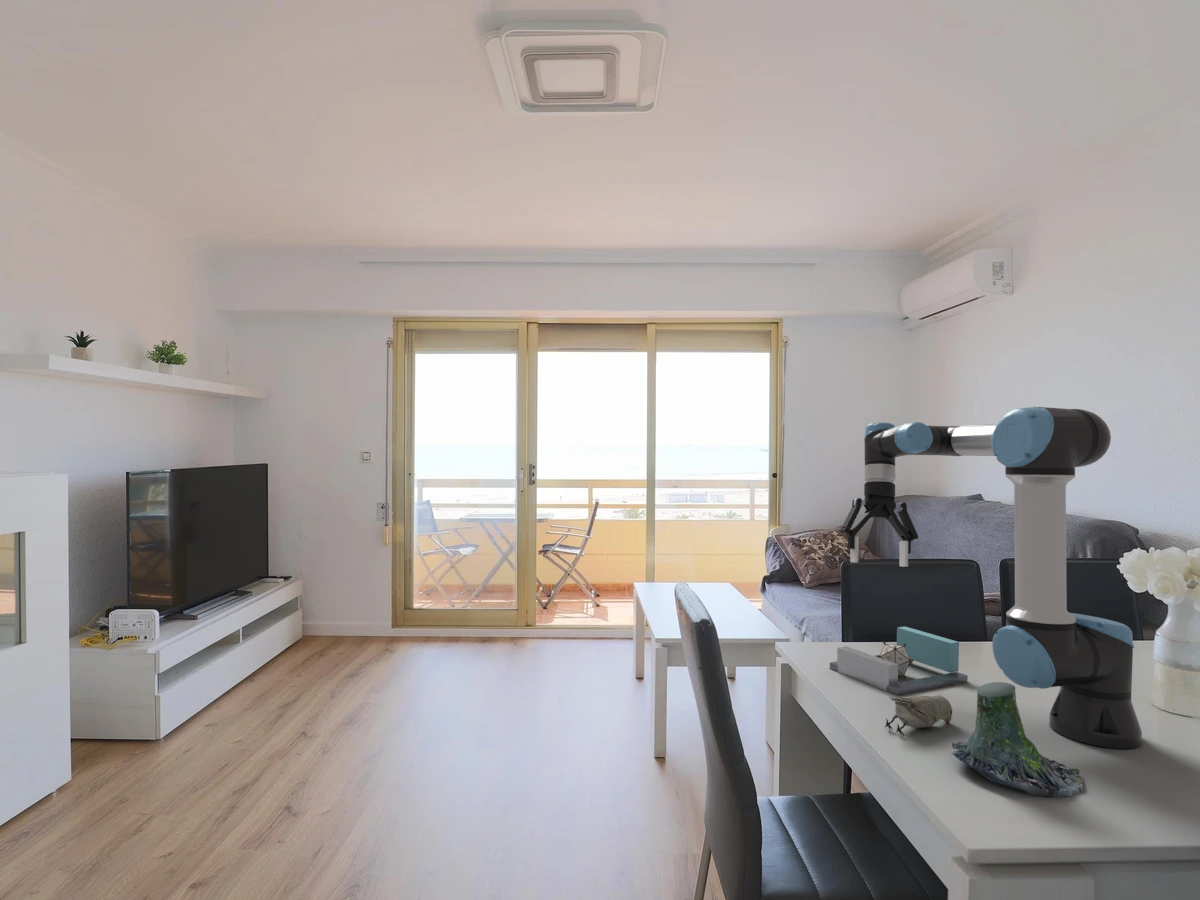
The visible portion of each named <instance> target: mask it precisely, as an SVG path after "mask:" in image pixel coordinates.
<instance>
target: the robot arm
mask: <svg viewBox="0 0 1200 900" xmlns="http://www.w3.org/2000/svg"><path fill="white" fill-rule="evenodd" d="M1111 439H1112V436H1111V431H1110V427H1109V426H1108V424H1107V423H1106V422H1105V421H1104V420H1103V419H1102V417H1101V416H1099V415H1098V414H1095V412H1091V411H1090V410H1085V409H1081V408H1079V409H1078V408H1060V407H1059V408H1057V407H1045V406H1033V407H1029V406H1028V407H1019V408H1016V409H1013V410H1011V411H1009V412H1007V413H1006V414H1005V415H1003V416H1002V418H1001V419H999V421H998V422H997V423H994V424H993V423H992V424H988V423H987V424H972V425H926V424H925V423H924V422H920V421H914V422H905V423H904V424H902V425H901V424H900V425H897V426H896V425H894V424H893V423H891V422H879V421H878V422H872V423H869V424H868V425H866V426H865V430H864V439H863V442H864V481H866V482H865V483H863V484H864V485H863V486H864V488H863V491H864V492H863V494H864V499H862V498H861V497H858V498H854V499H852V504H851V508H850V509H849V512H848V514H847V516H846V518H845V520H844V522H843V524H842V526H841V528H840V533H841V534H844V535H845V536H846V537H847V549H849V551H850V559H849V560H850V561H849V562H850V563H854V564H855V563H859V549H860V548H859V545H860V544H859V543H860V542H859V540H860V539H859V536H856V535H857V534H858V533H859V532H860V531H861V530H862V528H863V527H864V526H865V525H866V524H867V522H868V521H869V520H870V519H871V518H873V519H875V518H879V519H886V521H888V522H889V524H890V525H891V526H892V528H893V529H894V531H895V532H896V533H897V534H898V536H899V537H900V538H901V540H900V541H899V548H898V549H899V551H898V552H899V562H898V564H899V566H898V567H903V568H904V567H905V568H906V567H909V555H910V554H911V552H912V548H911V547H912V541H914V540H918V538H919V535H918V533H917V530H916V527H915V526H914V523H913V521H912V519H911V516H910V514H909V512H908V507H907V503H906V502H898V503H896V501H895V499H896V498H895V497H896V483H894V482H895V481H896V458H898V457H903V456H944V457H945V456H948V457H963V456H966V457H967V456H969V457H971V456H972V457H973V456H975V457H996V460H997V461H998V462H999V463H1000V464H1002V465H1003V466H1004V467H1005V474H1004V475H1005V477H1006V478H1007V479H1008V480H1009V481H1010V482H1011V483H1012V484H1013V485H1014V487H1013V488H1014V492H1013V493H1014V496H1013V497H1014V501H1013V503H1014V512H1013V514H1014V605H1013V606H1012V607H1011V608H1010V609H1009V610H1007V611H1006V613H1005V615H1006V616H1005V621H1006V622H1005V623H1006V624H1005V626H1002V627H1001V628H999V629H998V630H997V632H996V633H994V635H993V637H992V645H991V646H992V652H993V657H994V660H995V662H996V664H997V666H998V667H999V669H1000V670H1002V672H1003V674H1004V675H1005V677H1007V679H1009V680H1010V681H1011V682H1012V683H1014V684H1016V685H1018V686H1020V687H1023V688H1027V689H1030V688H1032V689H1034V688H1035V689H1037V688H1038V689H1041V690H1042V689H1050V688H1056V687H1059V688H1060V689H1059V691H1058V693H1057V695H1056V698H1055V700H1054V703H1053V704H1052V708H1051V710H1050V712H1049V718H1048V719H1049V721H1048V722H1049V724H1048V725H1049V727H1050V729H1052V730H1053V731H1055V732H1056V733H1058V734H1059V735H1061V736H1064V737H1066V738H1069V739H1071V740H1074V741H1076V742H1080V743H1083V744H1088V745H1092V746H1097V747H1101V748H1109V749H1119V750H1120V749H1123V750H1125V749H1127V750H1129V749H1135V748H1139V747H1141V745H1142V743H1143V732H1142V729H1141V725H1140V722H1139V720H1138V717H1137V714H1136V711H1135V708H1134V706H1133V705H1134V704H1133V702H1132V701H1133V700H1132V688H1133V687H1132V684H1133V657H1134V656H1133V654H1134V653H1133V651H1134V648H1135V645H1134V641H1133V631H1132V629H1131V628H1130V627H1129V626H1128V625H1126V624H1124V623H1122V622H1118V621H1115V620H1111V619H1107V618H1102V617H1098V616H1093V615H1086V614H1081V613H1075V612H1069V611H1068V610H1067V609H1068V608H1067V607H1068V606H1067V600H1068V599H1067V593H1068V592H1067V590H1068V589H1067V498H1066V497H1067V496H1066V495H1067V487H1066V486H1067V485H1068V484H1069V483H1070V482H1071V481H1073V479H1074V478H1075V477H1076V468H1079V467H1086V466H1089V465H1093V464H1094V463H1097V461H1099V460H1101V459H1102V458H1103V457H1104V456H1105V455H1106V453H1107V452H1108V450H1109V448H1110V445H1111V441H1112V440H1111ZM863 506H864V507H863ZM861 508H864V509H865V511H864V512H863V513H861V516H860V517H859V518H858V519H857V517H858V515H859V513H860V511H861ZM894 510H896V512H897V513H895V511H894ZM898 516H899V518H898ZM856 519H857V520H856ZM899 519H900V520H899ZM855 521H856V522H855Z"/></svg>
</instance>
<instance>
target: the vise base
mask: <svg viewBox="0 0 1200 900" xmlns="http://www.w3.org/2000/svg"><path fill="white" fill-rule="evenodd" d="M836 649H837V651H836V653H837V654H836V655H837V656H836V660H837V661H830V662H829V669H830V670H833V671H835V672H838V673H840V674H843V675H845V676H848V677H850V678H852V679H855V680H858V681H861V682H862V683H865V684H867V683H868V685H870V686H873V687H875V688H878V689H881V690H883V691H885V690H886V691H885V692H888V693H890V692H891V693H890V694H892V695H895V694H896V695H895V696H901V695H900V694H902V695H905V693H907V694H910V693H911V692H912V693H916V691H917V692H921V690H922V691H926V689H927V690H931V688H932V689H937V688H942V687H946V685H948V686H951V685H950V684H953V685H956V684H955V683H958V684H960V683H959V682H963V683H965V682H964V681H967V682H968V675H967V674H965V673H961V672H959V671H957V672H951V673H950V672H947V673H942V674H937V675H932V676H925V677H921V678H916V679H911V680H905V681H899V675H898V664H896V663H893V662H890V661H887V660H884V659H881V658H879V657H876V656H880V654H876V655H872V654H869V653H867V652H863V651H861V650H859V649H855V648H852V647H849V646H837V648H836ZM941 686H942V687H941ZM936 687H937V688H936Z"/></svg>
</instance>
